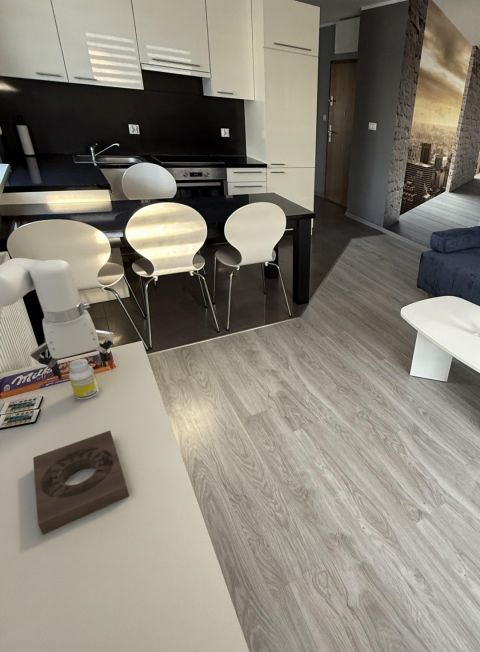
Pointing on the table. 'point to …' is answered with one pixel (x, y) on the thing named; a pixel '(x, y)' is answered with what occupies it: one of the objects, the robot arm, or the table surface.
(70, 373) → the supplement bottle
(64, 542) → the table surface
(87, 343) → the robot arm
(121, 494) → the socket pad
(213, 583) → the table surface
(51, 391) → the table surface
